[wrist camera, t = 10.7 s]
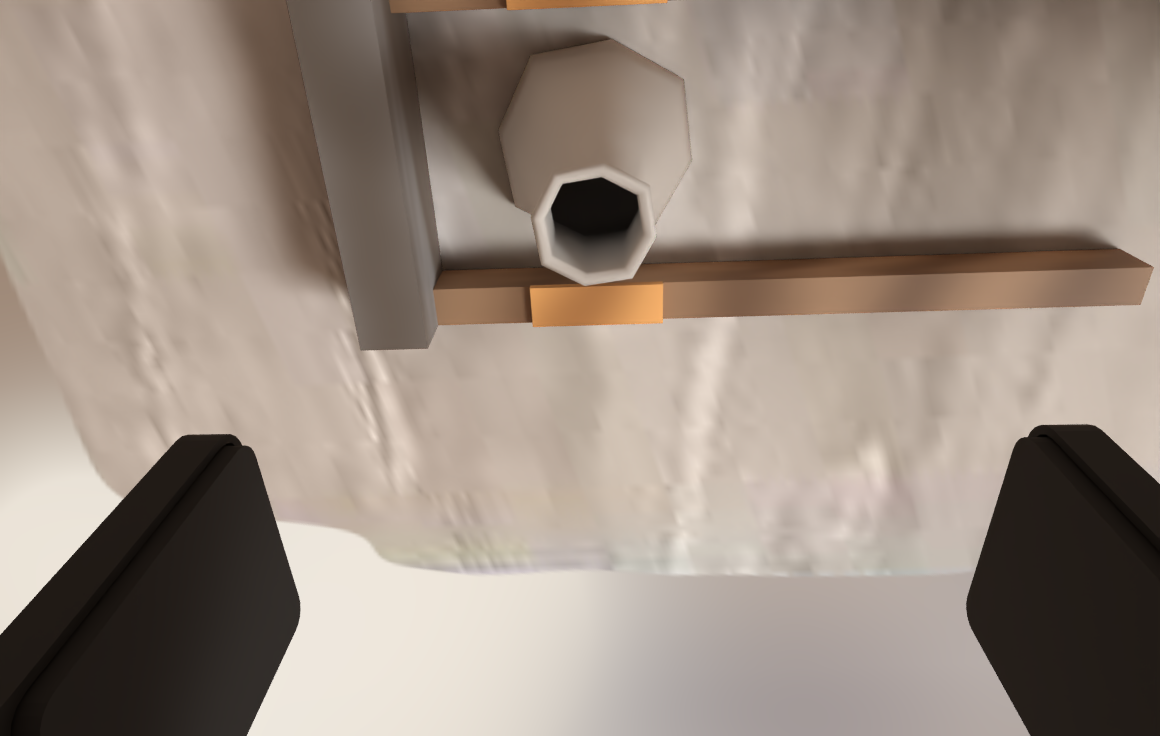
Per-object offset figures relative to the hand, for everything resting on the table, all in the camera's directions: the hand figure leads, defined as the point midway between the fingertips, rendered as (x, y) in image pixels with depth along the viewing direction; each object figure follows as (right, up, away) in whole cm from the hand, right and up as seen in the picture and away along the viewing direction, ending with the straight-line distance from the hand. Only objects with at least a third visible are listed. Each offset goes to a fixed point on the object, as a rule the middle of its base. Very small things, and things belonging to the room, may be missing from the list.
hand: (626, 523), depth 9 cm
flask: (0, +10, +18) cm, 21 cm away
